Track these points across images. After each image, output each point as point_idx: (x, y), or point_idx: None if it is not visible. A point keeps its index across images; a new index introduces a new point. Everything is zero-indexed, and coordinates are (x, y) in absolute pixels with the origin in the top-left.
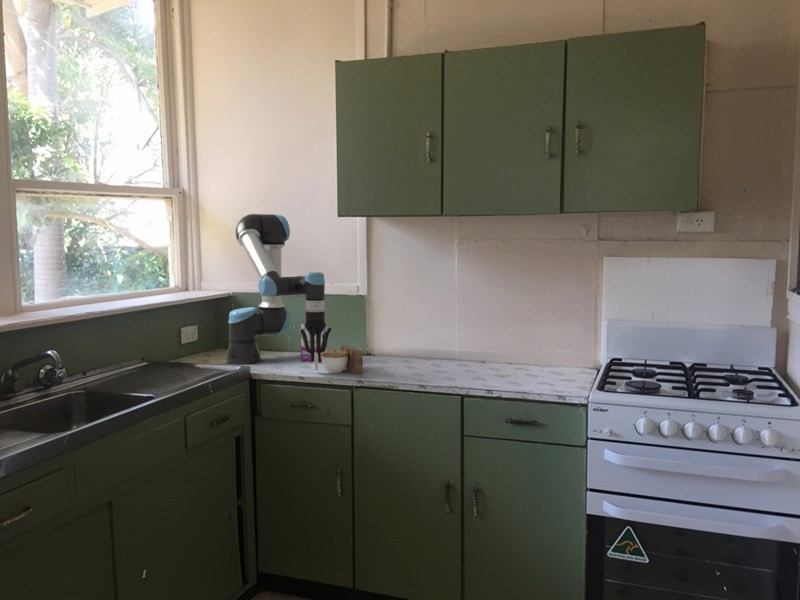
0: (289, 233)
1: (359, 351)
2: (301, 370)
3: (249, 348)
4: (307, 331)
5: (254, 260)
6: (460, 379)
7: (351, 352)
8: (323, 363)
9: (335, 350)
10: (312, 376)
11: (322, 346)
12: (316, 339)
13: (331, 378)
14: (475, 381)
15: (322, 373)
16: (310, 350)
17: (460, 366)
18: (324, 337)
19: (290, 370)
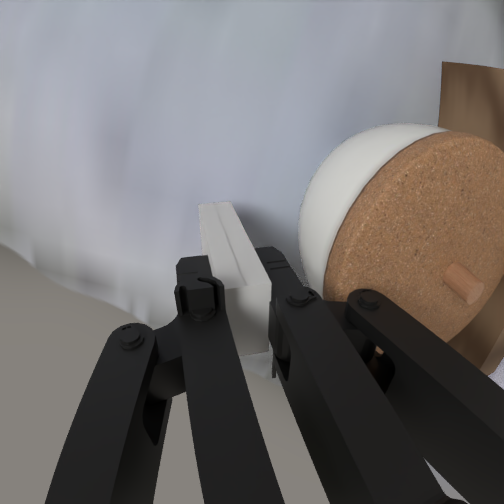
0: None
1: (494, 364)
2: (125, 54)
3: None
4: None
5: None
6: (500, 370)
7: (492, 323)
8: (300, 247)
9: (461, 296)
10: (170, 304)
11: (390, 343)
12: (352, 478)
13: (264, 363)
14: (497, 383)
15: (261, 229)
16: (177, 389)
17: None
18: (462, 468)
19: (41, 38)
